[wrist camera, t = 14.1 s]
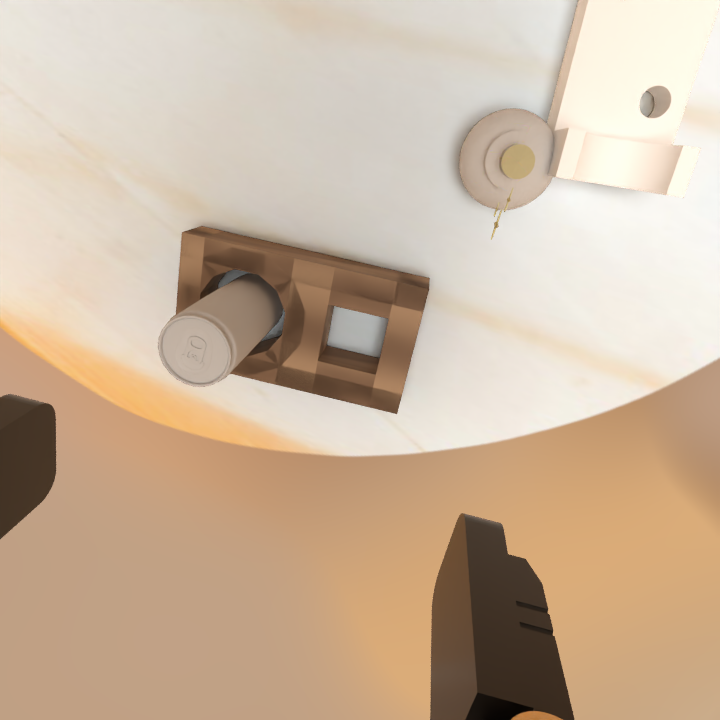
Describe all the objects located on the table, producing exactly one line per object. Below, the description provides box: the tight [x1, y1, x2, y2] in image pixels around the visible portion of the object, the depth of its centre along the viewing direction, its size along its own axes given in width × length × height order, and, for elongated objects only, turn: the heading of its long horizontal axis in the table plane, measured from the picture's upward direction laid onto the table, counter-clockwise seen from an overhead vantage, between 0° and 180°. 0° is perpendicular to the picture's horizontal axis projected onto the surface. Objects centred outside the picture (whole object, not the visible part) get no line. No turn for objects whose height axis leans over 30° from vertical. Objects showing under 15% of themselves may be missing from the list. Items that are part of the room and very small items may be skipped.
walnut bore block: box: [176, 226, 430, 414], centre depth 42 cm, size 10×18×4 cm, turn 79°
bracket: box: [547, 0, 720, 198], centre depth 32 cm, size 13×7×8 cm, turn 171°
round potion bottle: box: [459, 109, 555, 240], centre depth 33 cm, size 6×7×10 cm
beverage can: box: [158, 274, 283, 387], centre depth 38 cm, size 5×5×12 cm
